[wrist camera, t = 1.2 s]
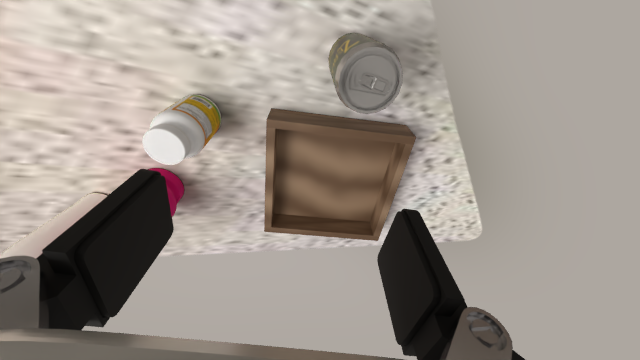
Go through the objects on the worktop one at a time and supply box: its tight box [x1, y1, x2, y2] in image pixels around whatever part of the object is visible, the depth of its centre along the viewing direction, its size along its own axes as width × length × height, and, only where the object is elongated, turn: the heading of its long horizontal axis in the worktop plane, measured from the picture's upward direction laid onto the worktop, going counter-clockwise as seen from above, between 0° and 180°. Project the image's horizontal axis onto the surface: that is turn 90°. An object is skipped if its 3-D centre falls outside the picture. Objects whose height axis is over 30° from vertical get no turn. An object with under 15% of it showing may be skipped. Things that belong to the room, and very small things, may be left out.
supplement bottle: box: [142, 94, 221, 165], centre depth 29 cm, size 5×5×10 cm
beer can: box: [328, 33, 403, 114], centre depth 24 cm, size 5×5×12 cm
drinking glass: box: [0, 193, 107, 259], centre depth 34 cm, size 7×7×15 cm
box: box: [264, 108, 416, 241], centre depth 36 cm, size 18×18×4 cm
